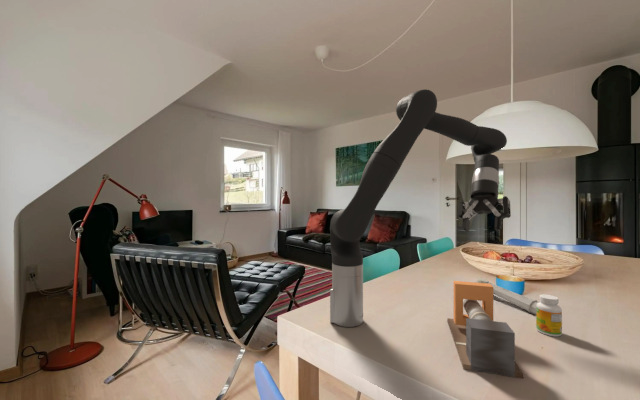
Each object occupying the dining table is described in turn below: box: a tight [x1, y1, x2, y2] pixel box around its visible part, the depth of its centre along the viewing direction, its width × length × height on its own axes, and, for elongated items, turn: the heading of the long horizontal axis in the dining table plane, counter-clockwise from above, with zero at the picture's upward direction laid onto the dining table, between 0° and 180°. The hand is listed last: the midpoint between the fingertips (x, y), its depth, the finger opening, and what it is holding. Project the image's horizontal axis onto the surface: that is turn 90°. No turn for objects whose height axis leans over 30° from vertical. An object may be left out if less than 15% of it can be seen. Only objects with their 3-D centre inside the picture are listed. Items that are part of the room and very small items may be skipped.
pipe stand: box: [447, 299, 524, 379], centre depth 69 cm, size 11×24×9 cm, turn 163°
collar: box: [453, 280, 494, 326], centre depth 75 cm, size 9×3×11 cm, turn 73°
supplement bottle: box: [535, 293, 563, 338], centre depth 76 cm, size 5×5×10 cm
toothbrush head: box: [476, 277, 540, 316], centre depth 97 cm, size 5×7×25 cm
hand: (481, 230), depth 84 cm, fingers open, 8 cm apart
